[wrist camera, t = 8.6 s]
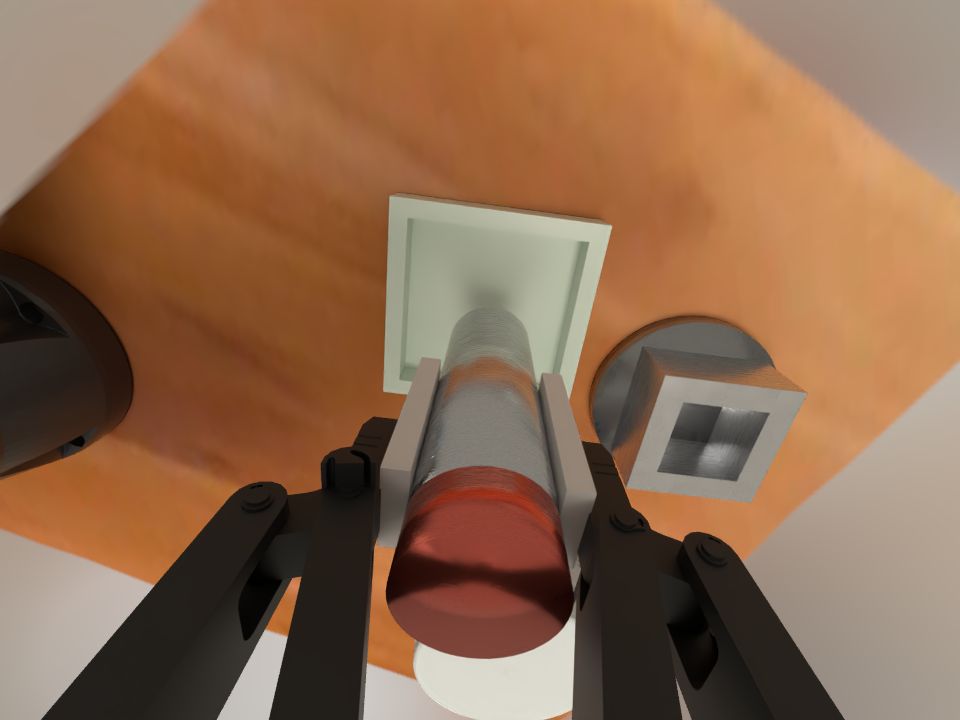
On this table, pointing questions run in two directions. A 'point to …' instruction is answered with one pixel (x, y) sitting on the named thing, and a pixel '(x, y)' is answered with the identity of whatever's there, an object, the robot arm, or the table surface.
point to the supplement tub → (504, 678)
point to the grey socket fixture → (693, 409)
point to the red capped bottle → (483, 506)
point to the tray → (487, 279)
